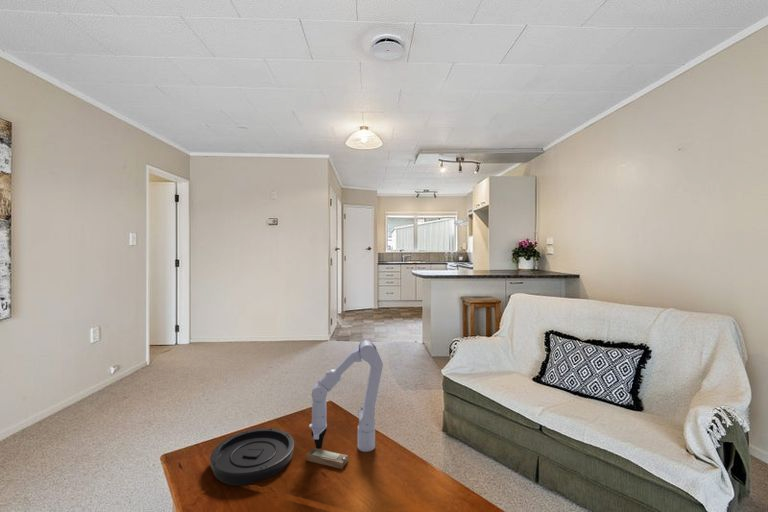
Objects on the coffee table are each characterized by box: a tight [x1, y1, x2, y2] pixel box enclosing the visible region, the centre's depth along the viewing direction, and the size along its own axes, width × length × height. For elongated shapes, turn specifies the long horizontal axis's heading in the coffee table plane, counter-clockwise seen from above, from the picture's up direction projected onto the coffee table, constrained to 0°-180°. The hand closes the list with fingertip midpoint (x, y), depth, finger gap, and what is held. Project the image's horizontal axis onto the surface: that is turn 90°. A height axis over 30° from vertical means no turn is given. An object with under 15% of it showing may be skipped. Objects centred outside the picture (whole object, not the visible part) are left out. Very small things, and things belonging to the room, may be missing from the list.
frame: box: [306, 447, 349, 470], centre depth 130 cm, size 5×15×3 cm, turn 71°
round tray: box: [209, 428, 295, 487], centre depth 131 cm, size 30×6×30 cm
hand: (319, 447), depth 138 cm, fingers closed
